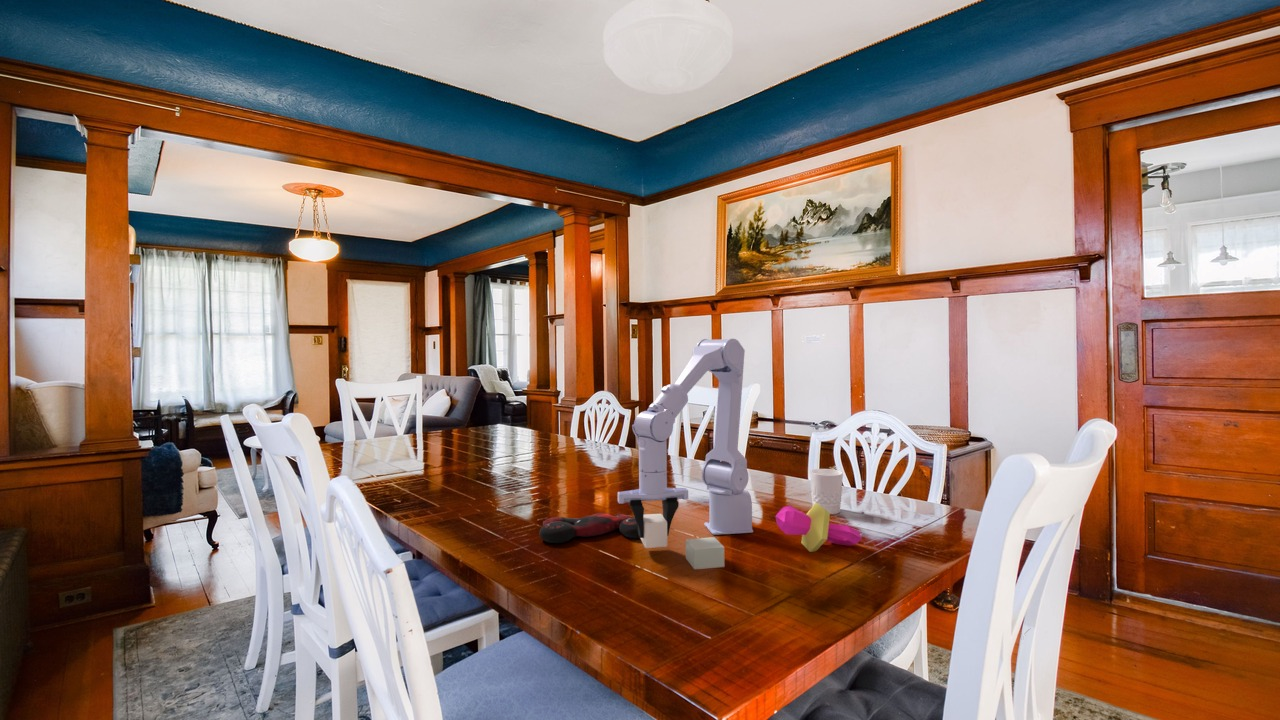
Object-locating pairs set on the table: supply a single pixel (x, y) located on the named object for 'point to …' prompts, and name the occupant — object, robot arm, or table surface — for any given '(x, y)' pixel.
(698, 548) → the sage base brick
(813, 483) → the white cup
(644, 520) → the cream brick
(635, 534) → the toy motorcycle
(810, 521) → the toy
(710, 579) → the table surface
